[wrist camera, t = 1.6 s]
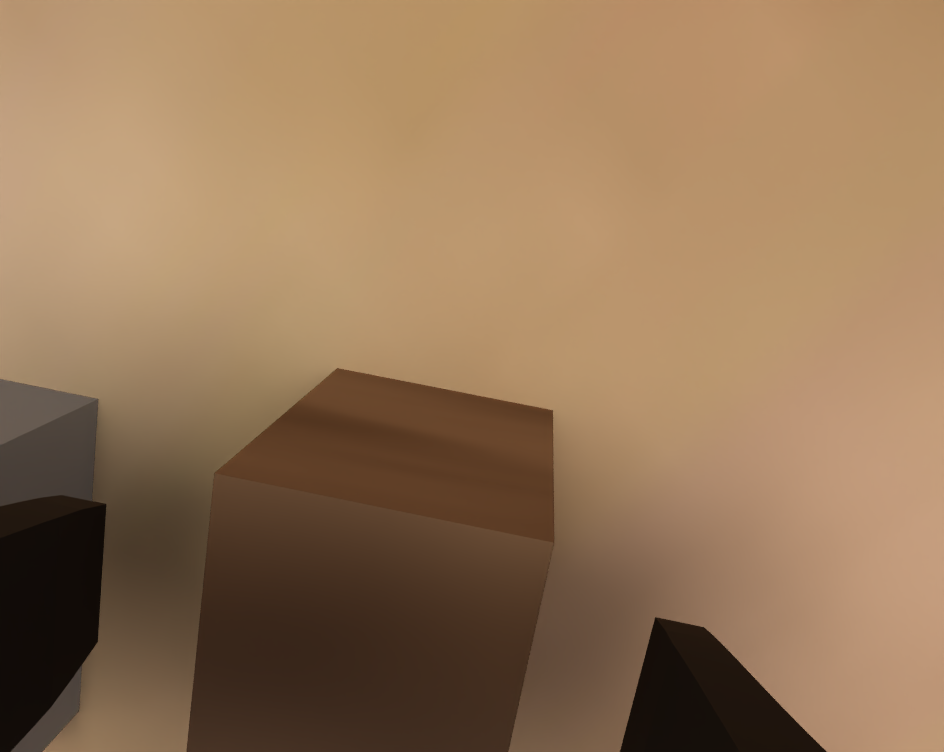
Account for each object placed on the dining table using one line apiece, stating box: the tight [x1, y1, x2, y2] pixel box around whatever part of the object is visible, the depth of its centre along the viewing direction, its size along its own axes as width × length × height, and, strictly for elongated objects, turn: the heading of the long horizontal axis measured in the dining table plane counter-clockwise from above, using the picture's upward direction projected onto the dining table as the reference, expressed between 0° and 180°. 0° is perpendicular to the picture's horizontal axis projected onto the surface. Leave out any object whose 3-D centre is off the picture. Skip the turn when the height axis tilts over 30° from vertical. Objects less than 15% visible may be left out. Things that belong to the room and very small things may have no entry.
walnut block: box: [187, 368, 554, 752], centre depth 12 cm, size 4×4×6 cm
